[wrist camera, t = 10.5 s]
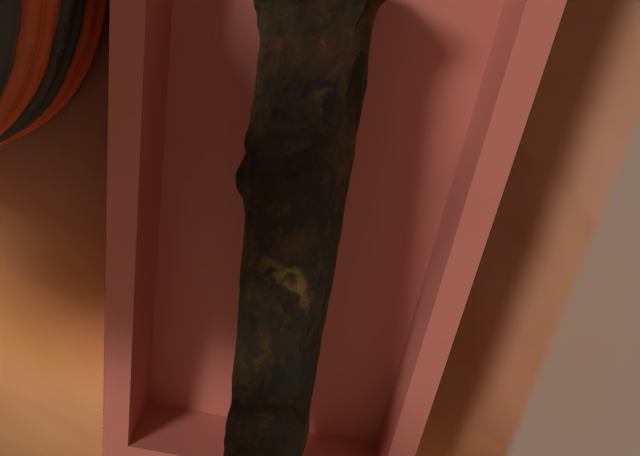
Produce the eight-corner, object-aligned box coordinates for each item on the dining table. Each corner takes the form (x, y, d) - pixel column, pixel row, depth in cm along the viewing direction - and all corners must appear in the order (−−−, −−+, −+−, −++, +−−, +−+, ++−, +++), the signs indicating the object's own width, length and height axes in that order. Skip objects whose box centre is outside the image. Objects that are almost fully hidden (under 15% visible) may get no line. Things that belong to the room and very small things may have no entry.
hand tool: (263, -46, 18) (233, -72, 14) (395, -21, 18) (408, -39, 14) (197, 466, 24) (160, 565, 19) (295, 485, 24) (281, 587, 19)
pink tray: (166, -348, 16) (116, -419, 13) (610, -260, 16) (670, -309, 13) (132, 399, 27) (102, 459, 24) (392, 447, 27) (396, 512, 24)
